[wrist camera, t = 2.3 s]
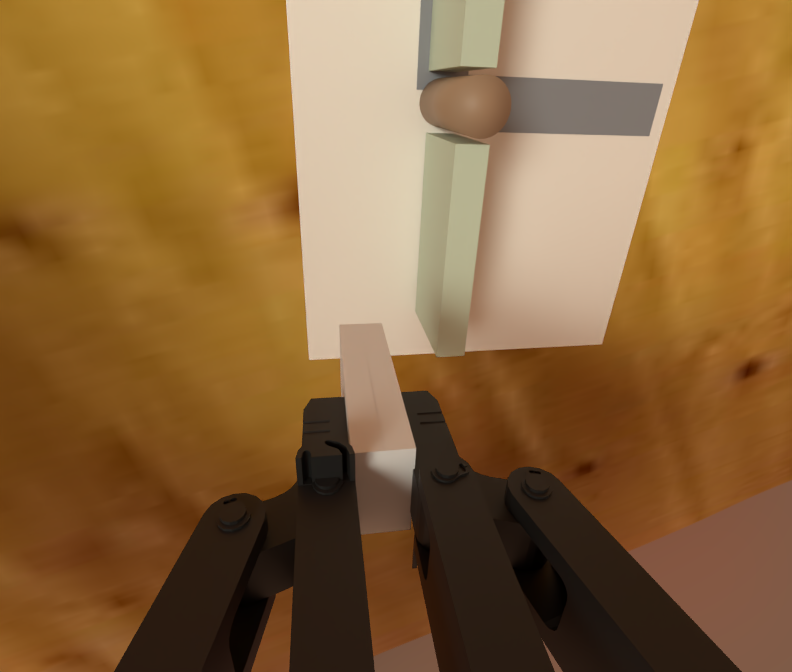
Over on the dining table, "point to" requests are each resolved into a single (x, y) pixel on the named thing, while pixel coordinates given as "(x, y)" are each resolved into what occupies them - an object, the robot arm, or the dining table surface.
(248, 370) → the dining table surface
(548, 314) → the card
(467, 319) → the fence panel
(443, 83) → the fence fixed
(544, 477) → the robot arm
